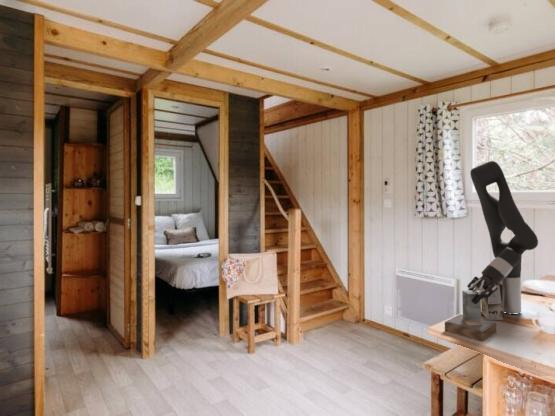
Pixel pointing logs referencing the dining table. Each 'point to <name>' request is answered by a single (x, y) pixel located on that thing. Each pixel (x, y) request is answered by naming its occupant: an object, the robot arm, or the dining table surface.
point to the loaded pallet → (471, 308)
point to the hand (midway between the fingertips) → (469, 300)
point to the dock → (470, 328)
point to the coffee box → (493, 304)
